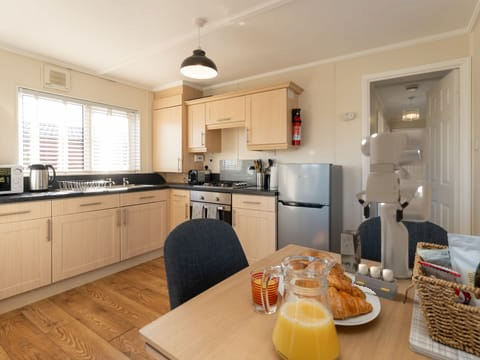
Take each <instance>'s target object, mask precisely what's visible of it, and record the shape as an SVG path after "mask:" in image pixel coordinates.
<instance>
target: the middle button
mask: <svg viewBox="0 0 480 360" xmlns="http://www.w3.org/2000/svg"><path fill="white" fill-rule="evenodd" d="M369 269H370V272H369V273H370V277H371V278H374V279H377V280H378V279H380V276H381V273H380V268H379V267H378V266H370V268H369Z"/></svg>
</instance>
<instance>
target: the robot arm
mask: <svg viewBox="0 0 480 360" xmlns="http://www.w3.org/2000/svg"><path fill="white" fill-rule="evenodd" d="M360 150H361V153H362V154H363V155H364V157H370V160H369V164H370V166H369V167H370V168H369V170H370V171H369V173H368V175H367V179H366V184H365V189H364V190H362V191H360V192H358V193H356V194H355V197H356V199H357V201H358V203H360V205H361V206H362V207H363V216H364V220H365V219H366V220H367V219H369V218H371V207H370V205H371V203H376V204H377V203H378V211H379V216H380V223H381V224H380V225H381V227H380V228H381V230H380V233H381V234H380V236H381V237H380V238H381V239H380V240H381V241H380V242H381V249H380V251H381V252H380V253H381V258H380V259H381V264H380V265H378V266H377V267H379V268H380V275H383V269H388V270H392V271H393V279H404V280H405V279H410V278H412V277H413V276H412V273H414V272H413V271H412V270H411V269H409V231H408V229H407V227H406V226H405V224H404V223H403V222H405V221H406V222H414V223H425V222H427V221H428V220H429V219H430V216H431V212H432V211H431V209H432V194H433V193H432V187H431V184H430V183H429V182H428V181H427V180H424V179H412V178H413V176H412V174H411V173H410V171H408V170H407V169H406V168H404V167H416V166H417V167H422V166H427V165H428V164H429V163H430V162H431V161H430V160H431V149H430V141H429V136H428V134H427V132H426V131H425V130H423V129H412V130H411V129H410V130H401V131H394V132H392V131H386V132H385V131H383V132H377V133H373V134H372V135H368V136H364V138H363V139H362V140H361V144H360ZM362 196H364V197H365V200H364V199H363V197H362ZM402 221H403V222H402Z"/></svg>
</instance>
